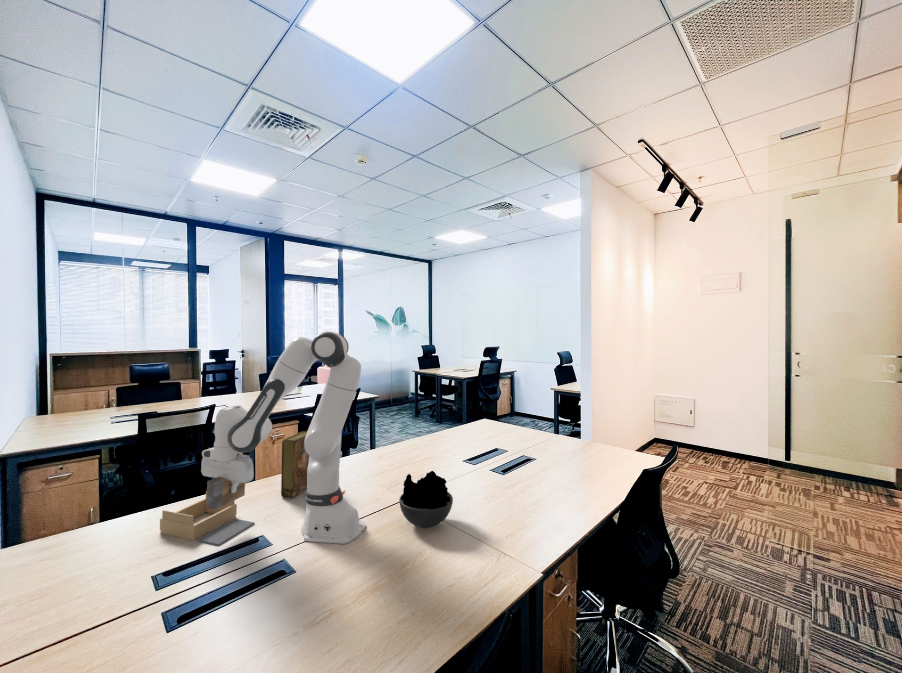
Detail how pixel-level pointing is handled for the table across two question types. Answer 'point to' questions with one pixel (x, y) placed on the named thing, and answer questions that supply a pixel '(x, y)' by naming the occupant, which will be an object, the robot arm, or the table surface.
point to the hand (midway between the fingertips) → (226, 491)
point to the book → (294, 465)
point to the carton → (184, 519)
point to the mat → (226, 532)
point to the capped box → (222, 492)
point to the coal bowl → (425, 500)
